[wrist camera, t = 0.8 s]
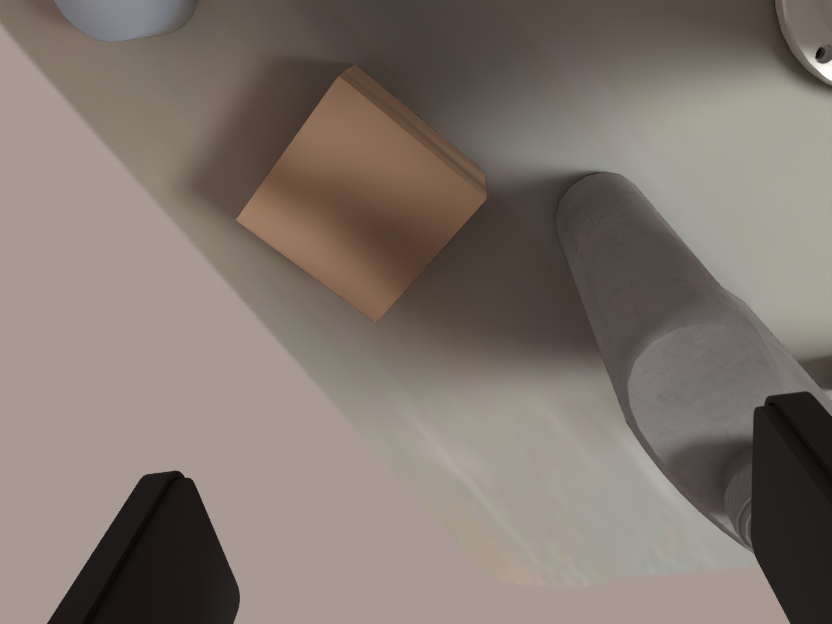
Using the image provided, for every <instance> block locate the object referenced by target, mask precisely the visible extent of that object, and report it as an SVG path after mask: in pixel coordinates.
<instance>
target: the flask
mask: <svg viewBox="0 0 832 624" xmlns="http://www.w3.org/2000/svg"><path fill="white" fill-rule="evenodd" d="M555 221H556V229H557V234H558V237H559V240H560V243H561V245H562V248H563V251H564V254H565V256H566V259H567V262H568V265H569V267H570V270H571V273H572V276H573V278H574V281H575V284H576V286H577V289H578V292H579V295H580V297H581V300H582V303H583V306H584V308H585V311H586V314H587V317H588V319H589V322H590V325H591V327H592V330H593V333H594V336H595V338H596V341H597V344H598V347H599V349H600V352H601V355H602V358H603V360H604V363H605V366H606V369H607V371H608V374H609V377H610V379H611V382H612V385H613V388H614V390H615V393H616V396H617V399H618V401H619V404H620V407H621V409H622V412H623V415H624V417H625V420H626V422H627V424H628V426H629V427H630V429H631V430H632V432H633V433H634V435H635V437H636V438H637V440H638V441H639V443H640V444H641V446H642V447H643V449H644V450H645V451H646V453H647V454H648V455H649V456H650V458H651V459H652V460H653V462H654V463H655V464H656V465H657V467H658V468H659V469H660V471H661V472H662V473H663V474H664V475H665V476H666V477H667V479H668V480H669V481H670V482H671V483H672V484H673V485H674V486H675V488H676V489H677V490H678V491H679V492H680V493H681V494H682V495H683V496H684V497H685V498H686V499H687V500H688V501H689V502H690V503H691V504H692V505H693V506H694V507H695V508H696V509H697V510H698V511H699V512H700V513H702V514H703V515H704V516H705V517H706V518H708V519H709V520H710V521H711V522H712V523H713V524H715V525H716V526H717V527H718V528H719V529H720V530H722V531H723V532H724V533H726V534H727V535H728V536H730V537H731V538H732V539H734V540H735V541H736V542H738V543H739V544H740V545H742V546H743V547H745V548H746V549H748V550H749V551H751V552H752V553H754V551H753V547H752V543H751V494H752V453H753V415H754V410H755V408H756V407H759V406H764V404H765V400H766V398H767V397H768V396H771V395H779V394H787V393H795V392H803V391H807V392H810V393H811V394H812V395H813V396H814V397H815V398H816V399H817V400H818V401H819V402H820V403H821V405H822V406H823V407H824V408H825V409H826V410H827V411H828V413H829V414H830V415H831V416H832V401H831V400H830V399H829V398H828V396H827V395H826V394H825V393H824V392H823V391H822V390H821V388H820V387H819V386H818V385H817V384H816V383H815V382H814V380H813V379H812V378H811V377H810V376H809V375H808V374H807V372H806V371H805V370H804V369H803V368H802V367H801V366H800V364H799V363H798V362H797V361H796V360H795V359H794V358H793V356H792V355H791V354H790V353H789V352H788V351H787V350H786V349H785V347H784V346H783V345H782V344H781V343H780V342H779V341H778V339H777V338H776V337H775V336H774V335H773V334H772V333H771V331H770V330H769V329H768V328H767V327H766V326H765V325H764V323H763V322H762V321H761V320H760V319H759V318H758V317H757V315H756V314H755V313H754V312H753V311H752V310H751V309H750V307H749V306H748V305H747V304H746V303H745V302H744V301H742V300H741V299H739V298H738V297H736V296H735V295H733V294H732V293H730V292H729V291H727V290H725V289H724V288H722V287H721V286H720V284H719V283H718V282H717V281H716V280H715V279H714V277H713V276H712V275H711V274H710V273H709V271H708V270H707V269H706V268H705V267H704V266H703V264H702V263H701V262H700V261H699V260H698V258H697V257H696V256H695V255H694V254H693V253H692V251H691V250H690V249H689V248H688V247H687V245H686V244H685V243H684V242H683V241H682V240H681V238H680V237H679V236H678V235H677V234H676V232H675V231H674V230H673V229H672V228H671V226H670V225H669V224H668V223H667V222H666V221H665V219H664V218H663V217H662V216H661V215H660V213H659V212H658V211H657V210H656V209H655V208H654V206H653V205H652V204H651V203H650V202H649V200H648V199H647V198H646V197H645V196H644V195H643V193H642V192H641V191H640V190H639V189H638V187H637V186H636V185H635V184H633V183H632V182H630V181H629V180H628V179H626V178H625V177H624V176H622V175H620V174H613V173H606V172H602V173H598V174H593V175H589V176H585V177H584V178H582V179H581V180H579V181H578V182H576V183H575V184H573V185H572V186H570V187H569V189H568V190H567V191H566V193H565V194H564V195H563V197H562V198H561V199H560V201H559V204H558V208H557V211H556V215H555Z"/></svg>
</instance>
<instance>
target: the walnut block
mask: <svg viewBox="0 0 832 624" xmlns="http://www.w3.org/2000/svg"><path fill="white" fill-rule="evenodd" d="M486 199H487V192H486V182H485V173H484V172H483V171H482V170H481V169H480V168H478V167H477V166H476V165H475V164H474V163H472V162H471V161H470V160H469V159H468V158H466V157H465V156H464V155H463V154H462V153H461V152H459V151H458V150H457V149H456V148H455V147H453V146H452V145H451V144H450V143H449V142H447V141H446V140H445V139H444V138H443V137H442V136H440V135H439V134H438V133H437V132H436V131H434V130H433V129H432V128H431V127H430V126H428V125H427V124H426V123H425V122H424V121H422V120H421V119H420V118H419V117H418V116H417V115H415V114H414V113H413V112H412V111H411V110H409V109H408V108H407V107H406V106H405V105H403V104H402V103H401V102H400V101H399V100H398V99H396V98H395V97H394V96H393V95H392V94H390V93H389V92H388V91H387V90H386V89H384V88H383V87H382V86H381V85H380V84H379V83H377V82H376V81H375V80H374V79H373V78H371V77H370V76H369V75H368V74H367V73H365V72H364V71H363V70H362V69H361V68H360V67H358V66H357V65H356V64H354V65H352V66H351V67H350V68H348V69H347V70H345V71H344V72H343V73H341V74H340V75H339V76H338V77H337V78H336V80H335V81H334V83H333V84H332V85H331V87H330V88H329V90H328V91H327V92H326V94H325V95H324V97H323V98H322V99H321V101H320V102H319V104H318V105H317V106H316V108H315V109H314V111H313V112H312V113H311V115H310V116H309V118H308V119H307V120H306V122H305V123H304V125H303V126H302V127H301V129H300V130H299V132H298V133H297V134H296V136H295V137H294V139H293V140H292V142H291V143H290V144H289V146H288V147H287V149H286V150H285V151H284V153H283V154H282V156H281V157H280V158H279V160H278V161H277V163H276V164H275V165H274V167H273V168H272V170H271V171H270V172H269V174H268V175H267V177H266V178H265V179H264V181H263V182H262V184H261V185H260V186H259V188H258V189H257V191H256V192H255V193H254V195H253V196H252V198H251V199H250V200H249V202H248V203H247V205H246V206H245V207H244V209H243V210H242V212H241V213H240V214H239V216H238V217H237V219H236V221H238V222H239V223H240V224H242V225H243V226H244V227H246V228H247V229H249V230H250V231H251V232H253V233H254V234H255V235H257V236H258V237H259V238H261V239H262V240H263V241H265V242H266V243H268V244H269V245H270V246H272V247H273V248H274V249H276V250H277V251H278V252H280V253H281V254H282V255H284V256H285V257H287V258H288V259H289V260H291V261H292V262H293V263H295V264H296V265H297V266H299V267H300V268H301V269H303V270H304V271H306V272H307V273H308V274H310V275H311V276H312V277H314V278H315V279H316V280H318V281H319V282H320V283H322V284H323V285H325V286H326V287H327V288H329V289H330V290H331V291H333V292H334V293H335V294H337V295H338V296H340V297H341V298H342V299H344V300H345V301H346V302H348V303H349V304H350V305H352V306H353V307H354V308H356V309H357V310H359V311H360V312H361V313H363V314H364V315H365V316H367V317H368V318H369V319H371V320H372V321H373V322H375V323H376V322H377V321H378V320H379V319H380V318H381V317H382V316H383V315H384V313H385V312H386V311H387V310H388V309H389V308H390V307H391V306H392V304H393V303H394V302H395V301H396V300H397V299H398V298H399V297H400V296H401V294H402V293H403V292H404V291H405V290H406V289H407V288H408V287H409V285H410V284H411V283H412V282H413V281H414V280H415V279H416V278H417V276H418V275H419V274H420V273H421V272H422V271H423V270H424V269H425V268H426V266H427V265H428V264H429V263H430V262H431V261H432V260H433V259H434V257H435V256H436V255H437V254H438V253H439V252H440V251H441V250H442V249H443V247H444V246H445V245H446V244H447V243H448V242H449V241H450V240H451V238H452V237H453V236H454V235H455V234H456V233H457V232H458V231H459V230H460V228H461V227H462V226H463V225H464V224H465V223H466V222H467V221H468V219H469V218H470V217H471V216H472V215H473V214H474V213H475V212H476V211H477V209H478V208H479V207H480V206H481V205H482V204H483V203H484V202H485V200H486Z"/></svg>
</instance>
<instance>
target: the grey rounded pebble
mask: <svg viewBox="0 0 832 624" xmlns="http://www.w3.org/2000/svg"><path fill="white" fill-rule="evenodd" d="M54 2H55V4H56V5H57V7H58V8H59V10H60V11H61V13H62V14H63V15H64V17H65V18H66V19H67V20H68V21H69V22H70V23H71V24H72V25H73V26H74V27H76V28H77V29H78V30H80V31H81V32H83V33H84V34H86V35H88V36H90V37H92V38H95V39H98V40H102V41H108V42H119V41H125V40H131V39H137V38H144V37H150V36H156V35H162V34H167V33H171V32H173V31H175V30H177V29H179V28H180V27H182V26H183V25H184V24H185V23H186V22H187V21H188V20H189V18H190V17H191V15H192V13H193V11H194V9H195V6H196V3H197V0H54Z"/></svg>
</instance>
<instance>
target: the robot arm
mask: <svg viewBox="0 0 832 624" xmlns="http://www.w3.org/2000/svg"><path fill="white" fill-rule="evenodd" d="M775 8H776V12H777V16H778V20H779V24H780V28H781V32H782V34H783V36H784V38H785V40H786V42H787V44H788V46H789V48H790V50H791V52H792V53H793V54H794V56H795V57H796V58H797V59H798V60H799V61H800V63H801V64H802V65H803V66H804V67H805V69H806V70H808V71H809V72H810V73H812V74H813V75H815V76H816V77H817V78H819V79H820V80H821V81H823V82H824V83H826V84H829V85H831V86H832V0H775ZM819 48H820V49H821V54H820V55H819V56H818V57H817V58H815V56H816V52H817V50H818V49H819ZM751 543H752V547H753V551H754V554H755V557H756V559H757V561H758V563H759V565H760V567H761V569H762V570H763V572H764V574H765V576H766V578H767V580H768V582H769V584H770V586H771V588H772V589H773V591H774V593H775V595H776V597H777V599H778V601H779V603H780V605H781V607H782V608H783V610H784V612H785V614H786V616H787V618H788V620H789V622H790V624H832V416H831V415H830V414H829V413H828V411H827V410H826V409H825V408H824V407H823V406H822V405H821V403H820V402H819V401H818V400H817V399H816V398H815V397H814V396H813V395H812V394H811V393H810V392H807V391H803V392H795V393H787V394H779V395H771V396H768V397H767V398H766V400H765V404H764V406H759V407H756V408H755V410H754V415H753V453H752V494H751ZM239 602H240V594H239V588H238V585H237V583H236V580H235V578H234V575H233V573H232V571H231V568H230V567H229V564H228V561H227V559H226V557H225V554H224V552H223V549H222V547H221V545H220V543H219V540H218V538H217V535H216V533H215V531H214V528H213V526H212V524H211V521H210V519H209V516H208V514H207V512H206V509H205V507H204V504H203V502H202V500H201V497H200V495H199V493H198V490H197V488H196V486H195V483H194V482H193V480H192V479H190V478H185V477H184V475H183V474H182V473H181V472H179V471H170V472H162V473H154V474H147V475H145V476H143V477H142V478H141V479H140V481H139V482H138V484H137V485H136V487H135V488H134V490H133V491H132V493H131V494H130V496H129V498H128V499H127V501H126V502H125V504H124V505H123V507H122V508H121V510H120V511H119V513H118V515H117V516H116V518H115V519H114V521H113V522H112V524H111V525H110V527H109V529H108V530H107V532H106V533H105V535H104V537H103V538H102V539H101V541H100V543H99V544H98V546H97V547H96V549H95V550H94V552H93V553H92V555H91V556H90V558H89V560H88V561H87V563H86V564H85V566H84V567H83V569H82V570H81V572H80V574H79V575H78V577H77V578H76V580H75V581H74V583H73V584H72V586H71V587H70V589H69V591H68V592H67V594H66V595H65V597H64V598H63V600H62V601H61V603H60V604H59V606H58V608H57V609H56V611H55V612H54V614H53V615H52V617H51V619H50V620H49V622H48V623H47V624H233V623H234V620H235V617H236V614H237V612H238V608H239Z"/></svg>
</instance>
